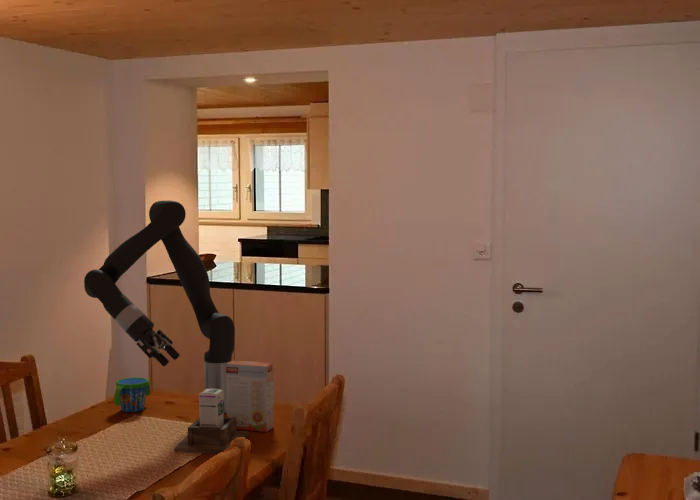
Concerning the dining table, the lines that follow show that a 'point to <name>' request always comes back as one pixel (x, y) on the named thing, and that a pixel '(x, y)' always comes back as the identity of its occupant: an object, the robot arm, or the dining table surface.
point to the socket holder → (210, 437)
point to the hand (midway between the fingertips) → (172, 360)
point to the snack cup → (131, 394)
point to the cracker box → (250, 394)
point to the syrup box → (211, 408)
